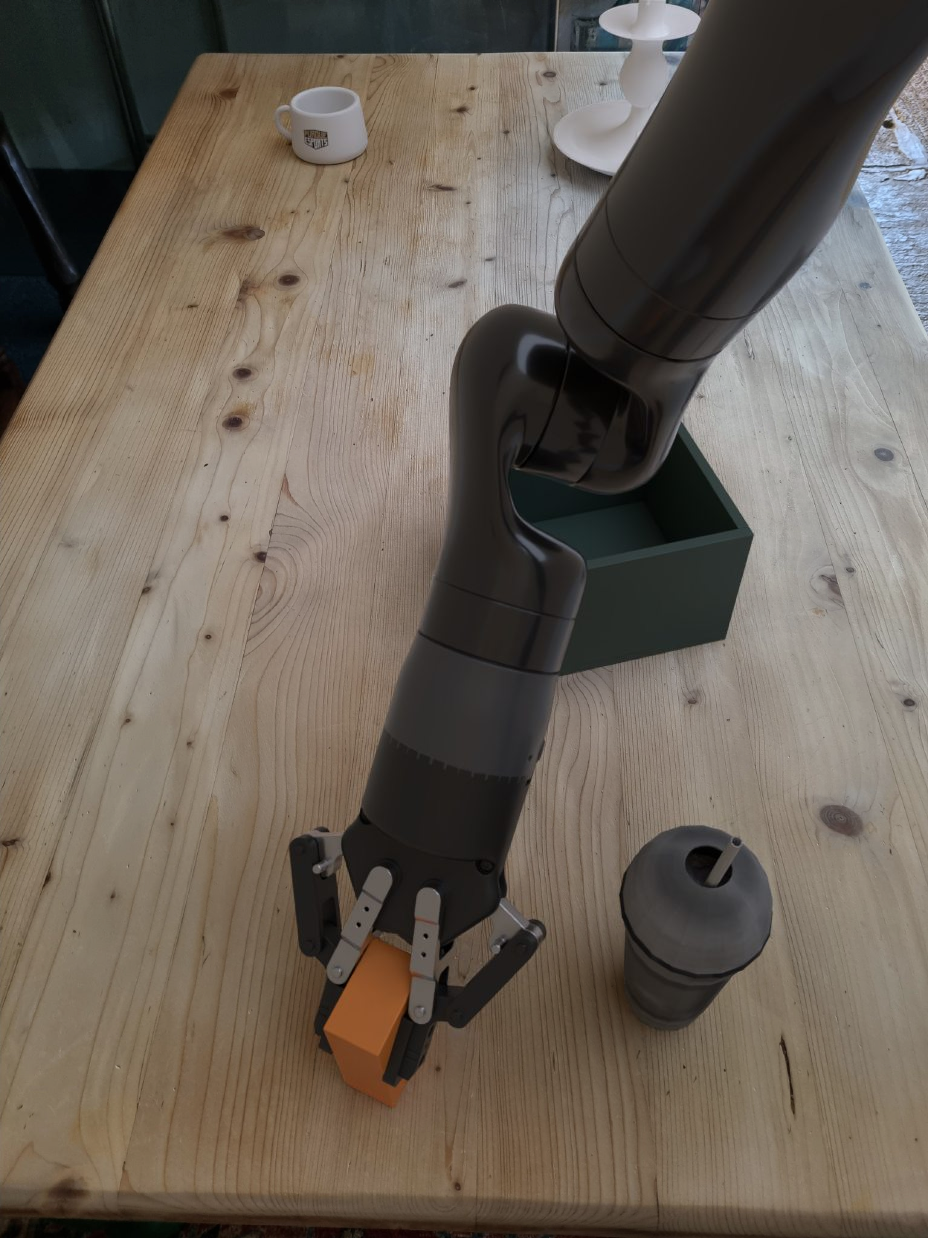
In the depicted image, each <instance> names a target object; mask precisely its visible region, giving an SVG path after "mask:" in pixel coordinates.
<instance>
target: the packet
mask: <svg viewBox="0 0 928 1238" xmlns="http://www.w3.org/2000/svg"><path fill="white" fill-rule="evenodd" d="M411 953H412V952H411ZM411 953H410V952H409V951H406V950H404V949H402V948H399V947H397V946H395V945H393V944H392V943H389V942H387V941H385V940H382V939H381V938H379V939H378V938H375V939H374V940H373V941H371V942H370V943H369V945H368V947H367V949H366V950H365V952H364V954H363V956H362V958H361V960H360V961H359V963H358V965H357V967H356V969H355V971H354V972H353V974H352V976H351V978H350V980H349V982H348V983H347V985H346V987H345V989H344V991H343V993H342V994H341V996H340V998H339V1000H338V1002H337V1004H336V1006H335V1007H334V1009H333V1011H332V1013H331V1015H330V1017H329V1018H328V1020H327V1022H326V1024H325V1026H324V1028H323V1030H324V1032H325V1035H326V1037H327V1040H328V1042H329V1044H330V1047H331V1049H332V1052H333V1054H332V1055H333V1057H334V1059H335V1061H336V1063H337V1066H338V1069H339V1071H340V1073H341V1075H342V1078H343V1080H344V1083H345V1084H346V1085H347V1086H349V1087H351V1088H353V1089H355V1090H357V1091H359V1092H361V1093H363V1094H365V1095H366V1096H369V1097H370V1098H373V1099H375V1100H377V1101H378V1102H380V1103H382V1104H383V1105H386V1106H388V1107H390V1108H392V1109H393V1108H395V1107H396V1106H397V1103H398V1101H399V1098H400V1097H401V1095H402V1092H403V1090H404V1088H405V1087H406V1084H407V1083H408V1081H407V1080H405V1079H402V1080H401V1081H400V1082H399V1084H398V1085H397V1086H396V1087H395V1088H394V1087H393V1086H391V1085H389V1084H387V1083H385V1082H383V1081H382V1077H383V1074H384V1073H385V1070H386V1066H387V1063H388V1060H389V1057H390V1053H391V1050H392V1047H393V1044H394V1040H395V1037H396V1034H397V1031H398V1027H399V1024H400V1021H401V1018H402V1016H403V1015H404V1014H405V1013H406V1012H407V1011H408V1006H409V998H410V989H411V981H412V974H410V961H411Z"/></svg>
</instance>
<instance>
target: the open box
mask: <svg viewBox="0 0 928 1238" xmlns="http://www.w3.org/2000/svg"><path fill="white" fill-rule="evenodd" d="M509 479H510V488H511V494H512V497H513V501H514V504H515V506H516V508H517V510H518V512H519V513H520V514H521V516H523V517H524V518H525V519H526V520H528V521H529V522H530V523H532V524H533V525H535V526H537V527H539V528H541V529H542V530H544V531H546V532H548V533H550V534H552V535H554V536H555V537H557V538H559V539H561V540H563V541H565V542H566V543H568V544H570V545H571V546H573V547H574V548H576V549H577V550H578V551H579V552H580V553H581V554H582V555H583V556H584V558H585V560H586V562H587V566H588V578H587V583H586V588H585V592H584V595H583V599H582V602H581V605H580V609H579V612H578V615H577V617H576V620H575V623H574V626H573V629H572V633H571V636H570V639H569V642H568V645H567V649H566V652H565V655H564V658H563V661H562V665H561V668H560V671H558V672H559V676H558V677H562V676H565V675H570V674H575V673H579V672H583V671H588V670H592V669H593V670H594V669H598V668H601V667H605V666H611V665H616V664H620V663H624V662H629V661H631V660H637V659H641V658H646V657H650V656H656V655H660V654H664V653H668V652H673V651H677V650H682V649H686V648H691V647H694V646H699V645H704V644H709V643H713V642H718V641H722V640H725V639H726V638H727V634H728V631H729V627H730V624H731V619H732V616H733V612H734V609H735V605H736V601H737V598H738V596H739V595H738V594H739V591H740V587H741V584H742V583H741V582H742V581H743V577H744V574H745V569H746V566H747V562H748V559H749V555H750V551H751V548H752V545H753V541H754V536H755V533H754V531H753V530H752V529H751V527H750V526H749V524H748V522H747V521H746V519H745V517H744V516H743V515H742V513H741V511H740V509H739V508H738V506H737V505H736V504H735V502H734V501H733V498H732V497H731V496H730V494H729V493H728V491H727V489H726V488H725V487H724V484H723V483H722V482H721V479H719V477H718V476H717V474H716V472H715V471H714V469H713V468H712V466H711V464H710V463H709V461H708V460H707V459H706V457H705V456H704V454H703V452H702V450H700V447H699V446H698V445H697V443H696V441H695V440H694V438H693V437H692V435H691V433H690V432H689V430H688V429H687V427H686V426H685V424H684V422H683V420H682V421H681V423H680V426H679V428H678V431H677V434H676V436H675V439H674V441H673V444H672V446H671V449H670V451H669V454H668V455H667V457H666V459H665V461H664V463H663V465H662V466H661V468H660V470H659V471H658V472H657V473H656V475H655V476H654V477H653V478H652V479H650V480H649V481H648V482H647V483H645V484H644V485H642V486H640V487H638V488H636V489H633V490H631V491H628V492H624V493H620V494H613V495H602V494H595V493H591V492H587V491H584V490H580V489H577V488H574V487H570V486H568V485H564V484H561V483H558V482H555V481H551V480H548V479H545V478H541V477H538V476H535V475H532V474H528V473H525V472H522V471H519V470H516V469H515V468H514V469H512V468H511V471H510V478H509Z"/></svg>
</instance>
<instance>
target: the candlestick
mask: <svg viewBox="0 0 928 1238" xmlns="http://www.w3.org/2000/svg"><path fill="white" fill-rule="evenodd" d="M701 18H702V17H700V16H699V14H697V13H696V12H694V11H693V10H691V9H689V8H686V7H684V6H679V5H676V4H671V3H667V0H638V2H634V3H633V2H632V3H626V4H621V5H617V6H613V7H611V8H609V9H607V10H606V11H604V12H602V14H600V16H599V18H598V24H599V26H600V27H601V28H602V30H603V31H606V32H608V33H609V34H611V35H614V36H617V37H620V38H624V39H627V40H628V39H629V40H631V43H632V44H631V45H632V46H631V49H630V51H629V53H628V55H627V56H626V58H625V59H624V61H623V64H621V67H620V71H619V75H618V76H619V78H618V79H619V85H620V86H619V87H620V89H621V92H622V94H623V96H624V98H618V99H610V100H609V99H608V100H603V101H602V100H601V101H597V102H593V103H590V104H589V103H588V104H586V105H583V106H580V107H578V108H576V109H573V110H571V111H570V112H568V113H566V114H565V115H564V116H563V117H561V118H560V119H559V120H558V121H557V123H556V124H555V126H554V128H553V131H552V139H553V142H554V144H555V146H556V147H557V148H558V150H559V151H560V152H561V153H562V154H563V155H565V156H566V157H567V158H569V159H571V160H572V161H575V162H576V163H579V164H581V165H583V166H584V167H586V168H587V167H588V168H589V169H591V170H592V171H596V172H597V173H601V174H603V175H606V176H612V177H613V176H614V175H615V173H616V172H617V170H618V168H619V167H620V165H621V164H622V162H623V160H624V159H625V157H626V156H627V154H628V153H629V151H630V149H631V148H632V146H633V145H634V143H635V141H636V140H637V138H638V136H639V135H640V133H641V131H642V130H643V128H644V126H645V125H646V123H647V121H648V119H649V118H650V116H651V114H652V113H653V111H654V109H655V108H656V106H657V104H658V102H659V101H660V99H661V97H662V95H663V93H664V91H665V90H666V88H667V86H668V84H669V81H670V80H669V79H670V69H669V64H668V62H667V59H666V57H665V54H664V50H663V44H664V42H665V41H668V40H669V41H670V40H676V39H680V38H684V37H687V36H690V35H692V34H694V33H695V31H696V29H697V27H698V25H699V23H700V20H701Z"/></svg>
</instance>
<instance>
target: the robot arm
mask: <svg viewBox="0 0 928 1238" xmlns="http://www.w3.org/2000/svg"><path fill="white" fill-rule="evenodd" d="M700 18H701V20H700V23H699V25H698V27H697V29H696V31H695V32H694V33H693V36H692V38H691V40H690V42H689V44H688V46H687V48H686V51H685V52H684V53H683V56H682V58H681V60H680V62H679V64H678V65H677V68H676V70H675V71H674V73H673V74H672V77H671V78H670V80H669V81H668V84H667V86H666V88H665V90H664V92H663V94H662V95H661V96H660V98H659V100H660V101H659V102H658V104H657V106H656V108H655V109H654V111H653V113H652V114H651V116H650V118H649V119H648V121H647V123H646V125H645V126H644V128H643V130H642V131H641V133H640V135H639V136H638V138H637V140H636V141H635V143H634V145H633V146H632V148H631V149H630V151H629V153H628V154H627V156H626V157H625V159H624V160H623V162H622V164H621V165H620V167H619V168H618V170H617V172H616V173H615V175H614V176H612V178H611V179H610V181H609V183H608V184H607V186H606V188H605V189H604V191H603V192H602V194H601V196H600V198H599V199H598V200H597V202H596V204H595V205H594V207H593V209H592V210H591V212H590V213H589V216H588V217H587V218H586V220H585V222H584V224H583V225H582V226H581V228H580V230H579V232H578V233H577V235H576V236H575V238H574V240H573V241H572V243H571V245H570V246H569V248H568V250H567V252H566V253H565V256H564V257H563V259H562V262H561V264H560V267H559V270H558V272H557V275H556V279H555V282H554V291H553V306H554V312H555V314H553V313H550V312H548V311H546V310H542V309H538V308H535V307H533V306H530V305H524V304H519V303H505V304H501V305H498V306H496V307H494V308H492V309H490V310H489V311H487V312H486V313H484V314H483V315H482V316H480V317H479V318H478V319H477V320H476V321H475V322H474V323H473V324H472V325H471V326H470V328H469V329H468V331H467V332H466V334H465V335H464V337H463V338H462V340H461V342H460V344H459V346H458V348H457V350H456V353H455V356H454V360H453V363H452V367H451V369H452V370H451V373H450V380H449V382H450V384H449V396H448V397H449V398H448V441H449V442H448V449H449V450H448V451H449V452H448V456H449V458H448V460H449V461H448V483H447V484H448V485H447V498H446V509H445V518H444V519H445V520H444V526H443V532H442V538H441V542H440V548H439V552H438V557H437V560H436V564H435V567H434V571H433V575H432V578H431V580H430V581H431V582H430V585H429V588H428V591H427V595H426V598H425V601H424V604H423V605H424V606H423V609H422V612H421V616H420V619H419V622H418V626H417V627H418V629H417V630H416V632H415V635H414V637H413V641H412V643H411V645H410V647H409V650H408V652H407V654H406V656H405V658H404V661H403V663H402V665H401V667H400V670H399V673H398V676H397V679H396V681H395V686H394V688H393V692H392V695H391V700H390V703H389V705H388V709H387V712H386V716H385V720H384V723H383V726H382V730H381V732H380V733H381V734H380V736H379V740H378V744H377V747H376V750H375V754H374V757H373V761H372V764H371V768H370V771H369V774H368V778H367V781H366V784H365V788H364V791H363V795H362V798H361V801H360V802H361V803H360V808H359V812H358V815H357V816H356V818H355V819H354V820H353V822H351V824H349V825H348V826H347V828H345V830H344V831H330V829H329V828H327V827H326V826H316V827H314V828H313V829H311V830H308V831H307V832H305V833H303V834H301V835H299V836H296V837H295V838H293V839H292V840H291V841H290V843H289V845H288V854H289V864H290V873H291V882H292V892H293V902H294V911H295V921H296V931H297V940H298V941H297V942H298V947H299V951H300V952H301V954H303V956H305V957H308V958H315V959H316V960H317V961H318V963H320V964H321V965H322V966H323V968H324V970H325V972H326V973H325V974H326V980H325V984H324V987H323V990H322V994H321V998H320V1001H319V1004H318V1007H317V1012H316V1014H315V1018H314V1021H313V1028H314V1029H313V1030H314V1032H313V1033H314V1035H316V1036H318V1037H320V1039H319V1042H318V1046H317V1048H318V1049H319V1050H320V1051H322V1052H324V1053H327V1054H328V1055H330V1056H332V1055H334V1054H333V1052H332V1049H331V1047H330V1044H329V1042H328V1040H327V1037H326V1035H325V1032H324V1030H323V1028H324V1026H325V1024H326V1022H327V1020H328V1018H329V1017H330V1015H331V1013H332V1011H333V1009H334V1007H335V1006H336V1004H337V1002H338V1000H339V998H340V996H341V994H342V993H343V991H344V989H345V987H346V985H347V983H348V982H349V980H350V978H351V976H352V974H353V972H354V971H355V969H356V967H357V965H358V963H359V961H360V960H361V958H362V956H363V954H364V952H365V950H366V949H367V947H368V945H369V943H370V942H371V941H373V940H374V939H375V938H378V939H381V936H382V935H383V933H387V934H393V935H394V934H395V935H397V936H398V937H399V938H401V939H402V940H403V941H404V942H406V943H407V944H408V945H409V946H411V961H410V974H412V981H411V989H410V998H409V1006H408V1011H407V1012H406V1013H405V1014H404V1015H403V1016H402V1018H401V1021H400V1024H399V1027H398V1031H397V1034H396V1037H395V1040H394V1044H393V1047H392V1050H391V1053H390V1057H389V1060H388V1063H387V1066H386V1070H385V1073H384V1074H383V1077H382V1081H383V1082H385V1083H387V1084H389V1085H391V1086H393V1087H394V1088H395V1087H396V1086H397V1085H398V1084H399V1082H400V1081H401V1080H402V1079H405V1080H407V1082H409V1081H410V1079H411V1078H412V1077H413V1076H414V1075H415V1074H416V1073H417V1072H418V1070H419V1069H420V1068H421V1066H422V1065H423V1064H424V1063H425V1061H426V1059H427V1056H428V1052H429V1048H430V1045H431V1042H432V1040H433V1036H434V1032H435V1029H436V1026H437V1023H439V1022H443V1023H448V1025H449V1026H451V1027H452V1028H454V1029H459V1030H460V1029H463V1028H465V1027H466V1026H467V1025H468V1024H469V1023H470V1022H471V1021H472V1020H473V1019H474V1018H475V1017H476V1016H477V1015H478V1014H479V1013H480V1012H481V1010H483V1009H484V1007H486V1006H487V1005H488V1003H490V1001H492V999H493V998H494V997H495V996H496V995H497V994H498V993H499V992H500V991H501V990H502V989H503V988H504V987H505V986H506V985H507V983H509V982H510V981H511V980H512V979H513V977H514V976H515V975H516V974H517V973H518V972H519V971H520V970H521V969H522V968H523V967H524V966H525V965H526V964H527V963H528V962H529V961H530V960H531V958H532V957H533V956H534V955H535V954H536V952H537V951H538V950H539V948H540V947H541V945H542V944H543V942H544V941H545V940H546V937H547V935H548V933H547V927H546V926H545V924H544V923H543V922H542V921H541V920H539V919H537V918H530V919H528V918H526V917H525V916H524V915H523V914H522V913H521V912H520V911H519V910H518V909H517V908H516V907H515V906H514V904H513V903H511V901H509V900H508V898H507V894H508V884H507V879H506V869H505V868H506V862H507V859H508V856H509V852H510V850H511V849H510V848H511V846H512V843H513V840H514V836H515V833H516V830H517V826H518V825H519V824H518V823H519V820H520V817H521V814H522V812H523V811H522V810H523V808H524V804H525V802H526V797H527V794H528V792H529V789H530V785H531V782H532V779H533V776H534V773H535V769H536V766H537V764H538V762H539V761H540V760H541V758H542V755H543V752H544V748H545V744H546V740H545V738H546V735H547V731H548V728H549V724H550V720H551V718H552V717H551V716H552V712H553V707H554V706H553V705H554V699H555V694H556V688H557V683H558V678H559V677H560V676H559V672H558V671H560V668H561V665H562V661H563V658H564V655H565V652H566V649H567V645H568V642H569V639H570V636H571V633H572V629H573V626H574V623H575V620H576V617H577V615H578V612H579V609H580V605H581V602H582V599H583V595H584V592H585V588H586V583H587V578H588V566H587V562H586V560H585V558H584V556H583V555H582V554H581V553H580V552H579V551H578V550H577V549H576V548H574V547H573V546H571V545H570V544H568V543H566V542H565V541H563V540H561V539H559V538H557V537H555V536H554V535H552V534H550V533H548V532H546V531H544V530H542V529H541V528H539V527H537V526H535V525H533V524H532V523H530V522H529V521H528V520H526V519H525V518H524V517H523V516H521V514H520V513H519V512H518V510H517V508H516V506H515V504H514V501H513V497H512V494H511V488H510V479H509V478H510V471H511V468H512V469H514V468H515V469H516V470H519V471H522V472H525V473H528V474H532V475H535V476H538V477H541V478H545V479H548V480H551V481H555V482H558V483H561V484H564V485H568V486H570V487H574V488H577V489H580V490H584V491H587V492H591V493H595V494H602V495H613V494H620V493H624V492H628V491H631V490H633V489H636V488H638V487H640V486H642V485H644V484H645V483H647V482H648V481H649V480H650V479H652V478H653V477H654V476H655V475H656V473H657V472H658V471H659V470H660V468H661V466H662V465H663V463H664V461H665V459H666V457H667V455H668V454H669V451H670V449H671V446H672V444H673V441H674V439H675V436H676V434H677V431H678V428H679V426H680V423H681V421H682V422H683V417H685V413H686V411H687V409H688V408H689V406H690V404H691V402H692V400H693V398H694V396H695V394H696V393H697V390H698V388H699V387H700V385H701V383H702V381H703V380H704V378H705V376H706V375H707V373H708V371H709V370H710V367H712V365H713V363H714V361H715V360H716V358H717V357H718V356H719V354H720V353H722V352H723V350H725V349H726V348H727V347H728V346H729V344H730V343H731V342H732V341H734V339H736V337H737V336H738V335H740V333H741V332H742V331H743V330H744V329H745V328H746V327H747V326H748V325H749V324H750V323H751V322H752V321H754V319H755V318H756V317H757V316H758V315H760V313H761V312H762V311H763V310H764V309H765V308H766V307H767V306H768V305H769V304H770V303H771V301H772V300H774V299H775V297H776V296H777V295H778V294H779V293H780V292H781V291H782V290H783V289H784V288H785V286H787V285H788V283H789V282H790V281H791V280H792V279H793V278H794V277H795V276H796V275H797V273H798V272H799V271H800V270H801V269H802V268H803V266H805V264H806V263H807V262H808V261H809V259H810V258H811V257H812V256H813V254H814V253H815V252H816V250H817V249H818V248H819V246H820V245H821V244H822V242H823V241H824V239H825V238H826V236H827V235H828V234H829V232H830V231H831V229H832V228H833V226H834V224H835V222H836V221H837V219H838V217H840V214H841V213H842V211H843V209H844V206H845V204H846V203H847V201H848V199H849V197H850V195H851V192H852V190H853V188H854V186H855V184H856V182H857V179H858V177H859V175H860V173H861V171H862V169H863V166H864V164H865V162H866V160H867V157H868V155H869V153H870V151H871V148H872V146H873V144H874V141H875V139H876V137H877V135H878V133H879V131H880V129H881V127H882V126H883V124H884V122H885V120H886V118H887V117H888V115H889V113H890V111H891V110H892V108H893V107H894V105H895V104H896V102H897V101H898V99H899V97H900V96H901V95H902V93H903V92H904V90H905V88H906V87H907V86H908V84H909V82H910V81H911V80H912V79H913V78H914V76H915V75H916V74H917V72H918V71H919V69H920V68H921V67H922V66H923V64H924V63H925V62H926V60H927V59H928V0H708V2H707V4H706V6H705V8H704V11H703V14H702V15H701V17H700ZM343 860H344V863H345V866H346V869H347V870H346V871H347V873H348V877H349V879H350V883H351V886H352V890H353V892H354V896H355V899H356V901H355V904H354V906H353V908H352V910H351V912H350V914H349V916H348V918H347V920H346V921H345V924H344V926H343V927H342V916H341V907H340V897H339V889H338V879H337V872H338V871H339V870H340V869H341V867H342V864H343ZM486 919H489V920H490V921H491V924H492V930H491V931H492V932H491V933H490V935H489V937H488V939H487V946H488V949H489V951H490V952H491V953H492V954H493V955H492V957H490V959H489V960H488V961H487V962H486V963H485V964H484V965H483V966H482V967H481V969H479V971H477V973H476V974H474V976H473V977H472V978H471V979H470V980H469V981H468V982H467V983H466V984H465V985H464V986H463V985H451V978H452V970H453V963H454V961H455V958H456V956H457V951H458V944H459V937H461V936H462V935H464V934H465V933H466V932H468V931H469V930H471V929H472V928H474V927H475V926H477V925H479V924H481V923H482V922H483V921H485V920H486Z"/></svg>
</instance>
